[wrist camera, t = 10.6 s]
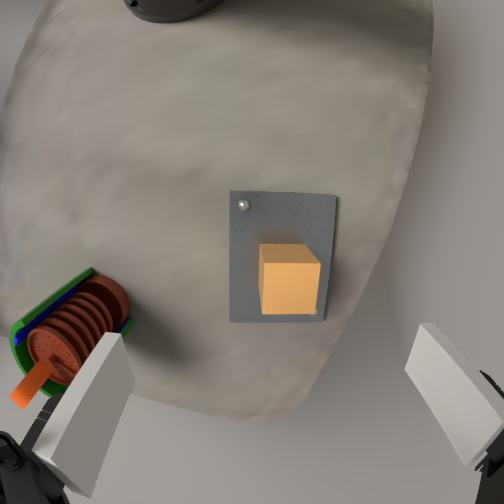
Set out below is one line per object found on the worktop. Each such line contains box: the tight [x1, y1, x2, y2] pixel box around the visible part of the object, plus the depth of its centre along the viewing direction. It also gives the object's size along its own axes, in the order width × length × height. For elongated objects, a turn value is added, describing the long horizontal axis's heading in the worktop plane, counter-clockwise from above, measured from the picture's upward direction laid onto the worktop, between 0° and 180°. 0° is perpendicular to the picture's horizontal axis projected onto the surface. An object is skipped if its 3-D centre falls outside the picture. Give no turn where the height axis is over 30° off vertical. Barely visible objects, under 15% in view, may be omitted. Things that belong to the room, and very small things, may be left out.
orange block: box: [258, 244, 321, 314], centre depth 29 cm, size 5×5×7 cm
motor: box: [10, 267, 134, 410], centre depth 25 cm, size 10×9×20 cm
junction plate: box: [229, 191, 336, 322], centre depth 31 cm, size 16×12×6 cm
